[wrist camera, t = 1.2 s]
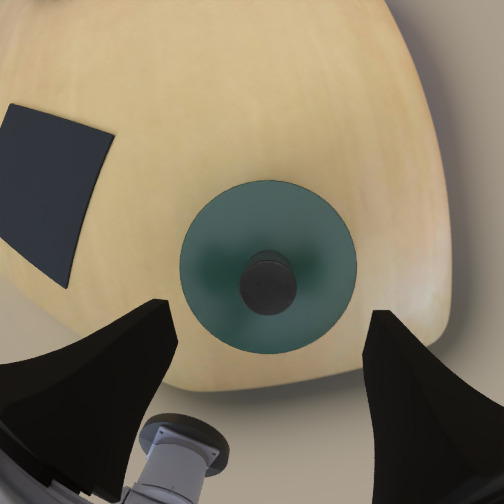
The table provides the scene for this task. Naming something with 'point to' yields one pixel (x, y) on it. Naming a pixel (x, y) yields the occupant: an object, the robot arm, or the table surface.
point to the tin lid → (268, 267)
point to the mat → (47, 185)
